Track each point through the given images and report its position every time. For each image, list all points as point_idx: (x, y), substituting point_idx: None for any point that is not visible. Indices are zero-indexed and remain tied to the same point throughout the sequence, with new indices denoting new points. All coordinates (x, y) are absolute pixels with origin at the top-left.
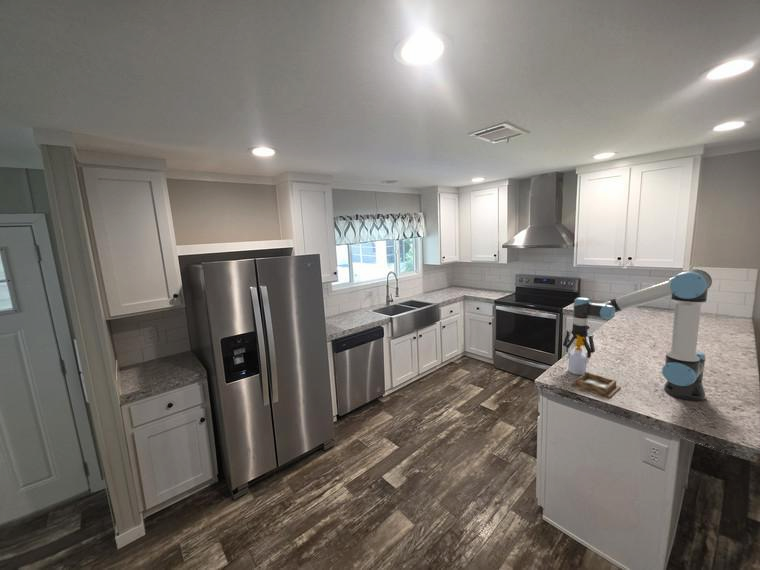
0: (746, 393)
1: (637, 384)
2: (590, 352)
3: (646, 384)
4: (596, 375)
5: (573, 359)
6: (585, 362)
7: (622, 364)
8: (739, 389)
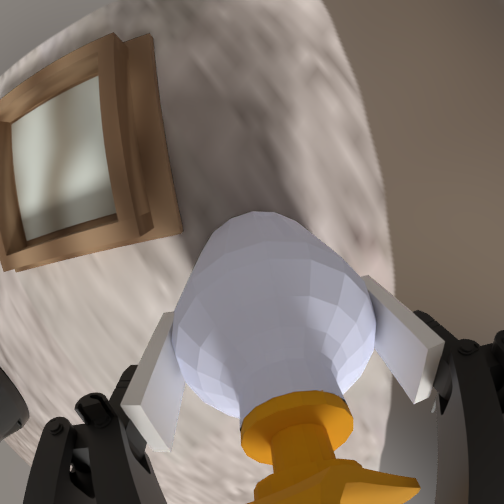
0: (14, 448)
1: (41, 366)
2: (92, 425)
3: (40, 386)
4: (68, 236)
5: (274, 237)
6: (172, 315)
7: (203, 480)
8: (28, 459)
